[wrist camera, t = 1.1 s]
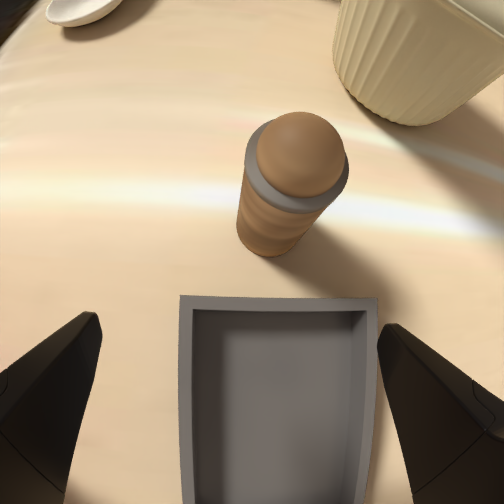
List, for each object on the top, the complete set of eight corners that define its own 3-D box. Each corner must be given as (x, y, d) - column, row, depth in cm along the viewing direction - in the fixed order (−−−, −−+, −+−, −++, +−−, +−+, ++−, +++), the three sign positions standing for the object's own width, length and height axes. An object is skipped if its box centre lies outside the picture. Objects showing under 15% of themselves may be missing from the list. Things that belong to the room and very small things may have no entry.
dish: (344, 504, 19) (359, 523, 16) (189, 513, 18) (185, 536, 15) (356, 302, 23) (377, 297, 20) (186, 299, 22) (179, 294, 19)
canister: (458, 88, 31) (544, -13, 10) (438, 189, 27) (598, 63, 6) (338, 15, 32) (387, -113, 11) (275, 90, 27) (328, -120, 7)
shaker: (301, 258, 24) (375, 192, 12) (234, 256, 23) (248, 181, 11) (299, 197, 25) (359, 95, 13) (236, 193, 24) (250, 81, 12)
